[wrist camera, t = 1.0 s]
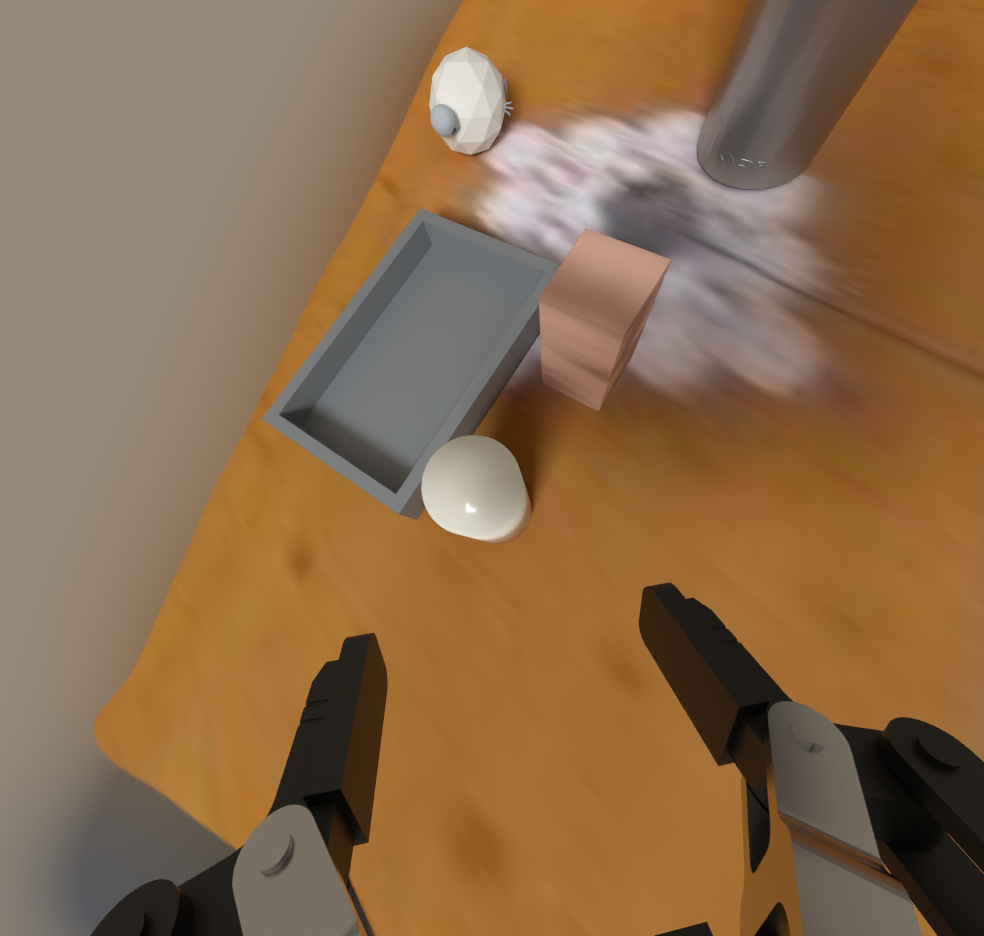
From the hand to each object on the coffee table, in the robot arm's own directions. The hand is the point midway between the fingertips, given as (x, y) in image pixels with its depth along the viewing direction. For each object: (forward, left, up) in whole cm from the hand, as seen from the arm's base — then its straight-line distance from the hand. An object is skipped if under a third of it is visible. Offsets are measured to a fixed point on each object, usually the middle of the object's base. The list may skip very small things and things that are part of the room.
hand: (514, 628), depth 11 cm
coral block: (-16, -5, -15) cm, 23 cm away
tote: (-10, -17, -15) cm, 25 cm away
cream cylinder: (-3, -5, -15) cm, 17 cm away
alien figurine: (-33, -27, -16) cm, 46 cm away
